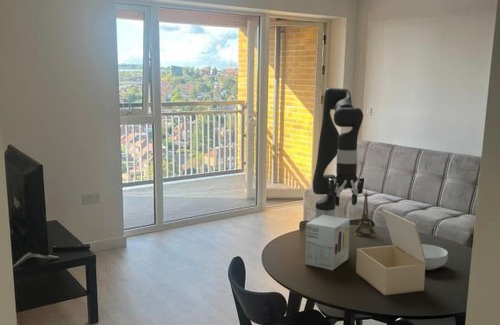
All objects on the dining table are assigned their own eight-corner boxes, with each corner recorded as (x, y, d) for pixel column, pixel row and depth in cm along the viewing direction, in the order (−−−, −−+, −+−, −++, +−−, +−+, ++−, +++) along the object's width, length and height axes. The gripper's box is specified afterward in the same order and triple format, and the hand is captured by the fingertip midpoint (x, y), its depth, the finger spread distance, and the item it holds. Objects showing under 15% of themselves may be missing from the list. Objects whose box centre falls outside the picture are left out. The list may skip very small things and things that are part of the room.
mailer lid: (414, 224, 170) (415, 224, 170) (382, 209, 191) (383, 209, 191) (425, 263, 173) (426, 263, 174) (392, 244, 195) (393, 244, 195)
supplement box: (333, 271, 194) (335, 228, 191) (304, 264, 201) (305, 223, 198) (349, 258, 208) (350, 218, 205) (321, 252, 215) (322, 214, 212)
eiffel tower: (375, 237, 237) (377, 188, 234) (353, 236, 240) (355, 187, 236) (375, 231, 248) (377, 184, 244) (354, 230, 250) (356, 183, 246)
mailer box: (384, 295, 171) (385, 268, 170) (356, 272, 192) (357, 248, 191) (423, 290, 175) (425, 264, 174) (391, 268, 196) (392, 245, 195)
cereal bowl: (413, 256, 210) (414, 241, 209) (452, 265, 200) (453, 249, 199) (397, 267, 197) (398, 251, 196) (438, 277, 187) (440, 260, 186)
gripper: (333, 163, 173) (332, 208, 175) (369, 162, 176) (367, 206, 179) (324, 160, 180) (323, 204, 182) (359, 159, 183) (358, 201, 186)
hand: (345, 205), depth 181 cm, fingers open, 6 cm apart
